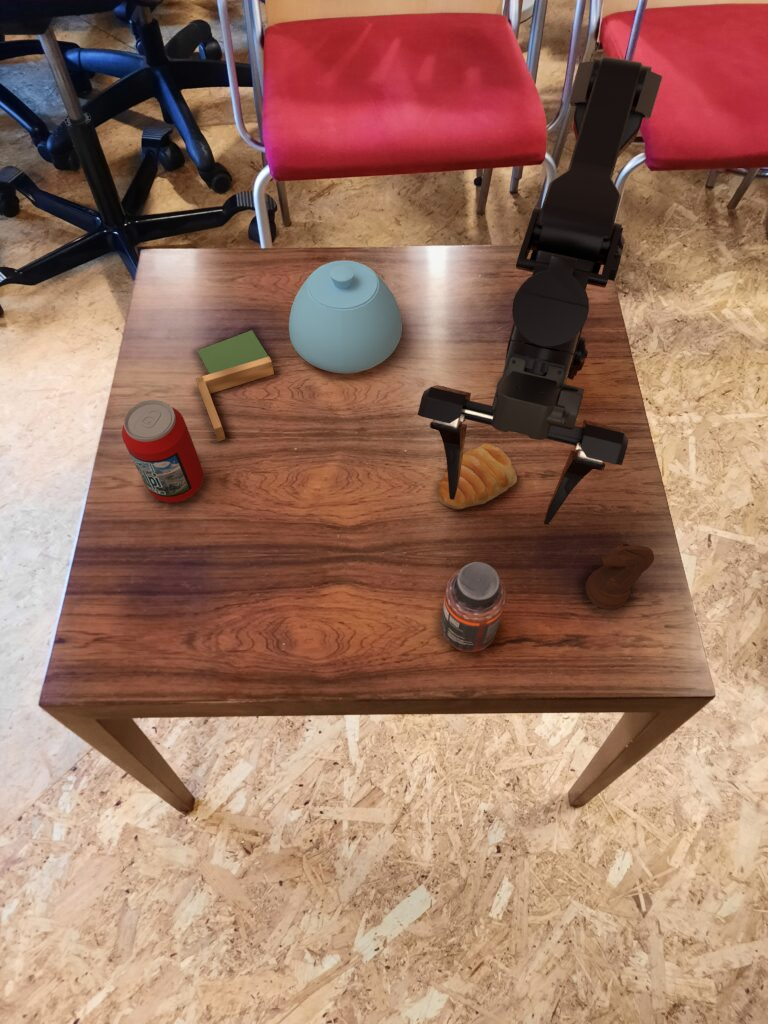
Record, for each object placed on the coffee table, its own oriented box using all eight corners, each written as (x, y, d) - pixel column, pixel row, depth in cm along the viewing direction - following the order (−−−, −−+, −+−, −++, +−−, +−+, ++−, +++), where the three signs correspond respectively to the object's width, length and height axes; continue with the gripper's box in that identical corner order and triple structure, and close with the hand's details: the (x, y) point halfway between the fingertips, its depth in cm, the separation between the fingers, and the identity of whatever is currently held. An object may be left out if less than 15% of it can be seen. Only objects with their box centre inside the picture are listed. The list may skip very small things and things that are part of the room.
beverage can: (137, 495, 87) (103, 433, 76) (167, 452, 90) (138, 387, 80) (187, 513, 85) (160, 452, 75) (215, 469, 89) (193, 405, 78)
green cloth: (252, 331, 100) (252, 329, 100) (270, 360, 98) (269, 358, 97) (197, 352, 99) (196, 350, 98) (213, 382, 96) (213, 380, 96)
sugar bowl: (311, 292, 104) (303, 222, 95) (413, 312, 102) (416, 243, 92) (275, 368, 97) (262, 301, 87) (384, 391, 95) (384, 325, 85)
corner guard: (271, 369, 97) (269, 356, 95) (293, 417, 93) (291, 404, 91) (199, 391, 95) (195, 378, 93) (218, 441, 91) (214, 429, 89)
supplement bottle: (500, 608, 79) (516, 559, 69) (491, 660, 76) (506, 616, 66) (446, 596, 80) (454, 546, 70) (434, 647, 77) (441, 601, 67)
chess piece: (582, 571, 81) (605, 526, 73) (628, 572, 81) (657, 527, 73) (587, 609, 79) (612, 567, 70) (635, 610, 79) (665, 568, 70)
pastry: (461, 526, 84) (464, 509, 81) (423, 488, 87) (424, 470, 84) (520, 484, 87) (525, 465, 84) (481, 448, 90) (484, 429, 87)
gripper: (428, 321, 60) (387, 502, 64) (659, 373, 57) (602, 559, 61) (446, 326, 71) (410, 481, 75) (642, 370, 68) (594, 529, 72)
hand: (498, 511), depth 70 cm, fingers open, 9 cm apart
